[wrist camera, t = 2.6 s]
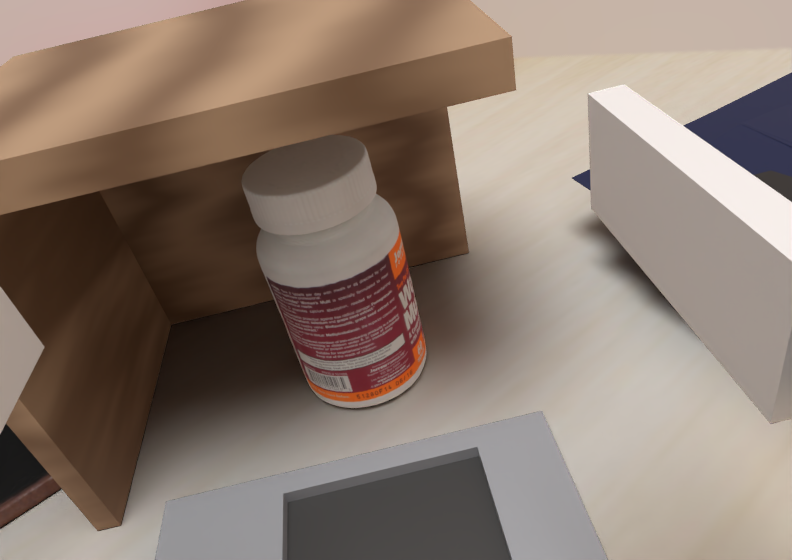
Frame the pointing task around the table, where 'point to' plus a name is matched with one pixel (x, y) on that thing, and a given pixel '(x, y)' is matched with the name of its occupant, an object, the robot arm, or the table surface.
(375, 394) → the pill bottle
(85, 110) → the cubby
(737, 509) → the table surface
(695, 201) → the robot arm
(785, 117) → the navy blue folder
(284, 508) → the board
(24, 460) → the letter holder
